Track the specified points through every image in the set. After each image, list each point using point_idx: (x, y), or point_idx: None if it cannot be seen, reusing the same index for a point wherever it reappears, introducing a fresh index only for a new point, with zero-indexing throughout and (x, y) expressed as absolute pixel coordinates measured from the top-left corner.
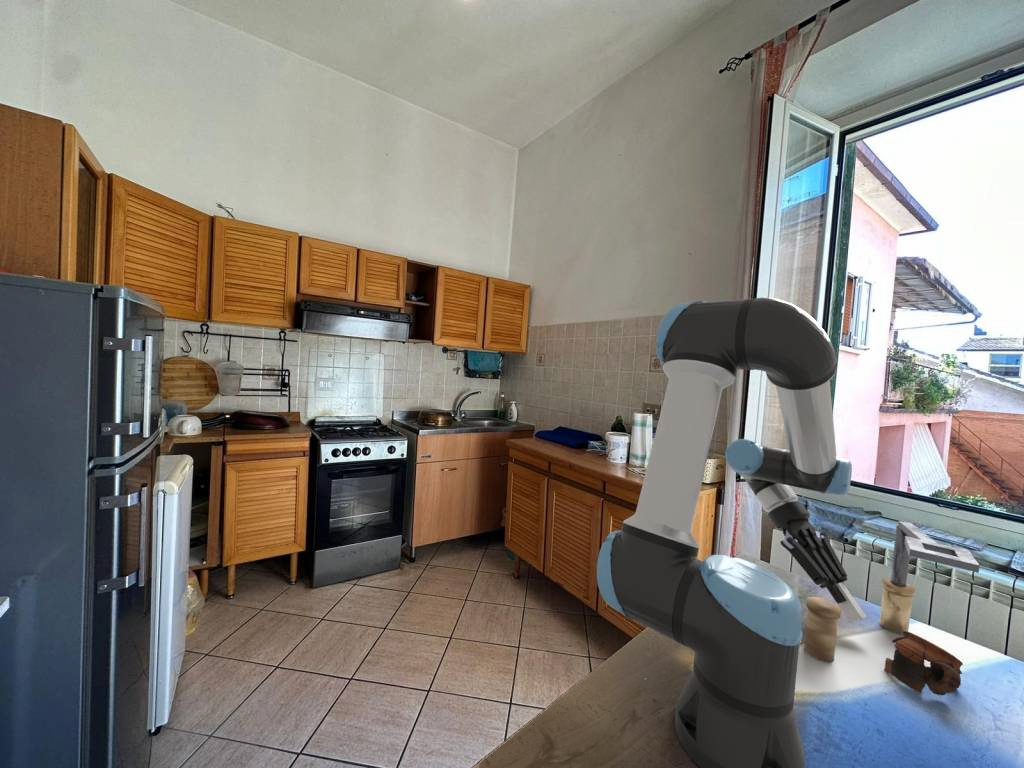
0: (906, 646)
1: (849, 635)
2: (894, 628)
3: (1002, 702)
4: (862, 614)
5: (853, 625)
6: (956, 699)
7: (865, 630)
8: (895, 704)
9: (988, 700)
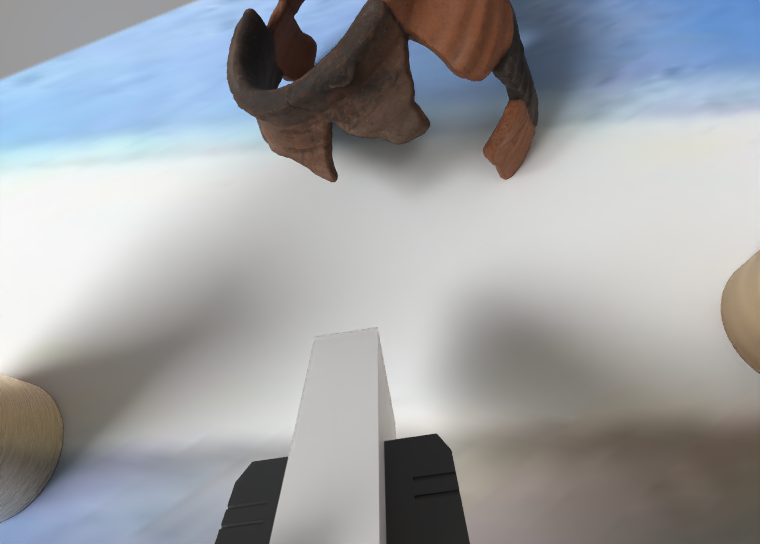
0: (485, 2)
1: None
2: (41, 405)
3: (223, 12)
4: (339, 345)
5: None
6: None
7: (216, 464)
8: (689, 28)
9: None
